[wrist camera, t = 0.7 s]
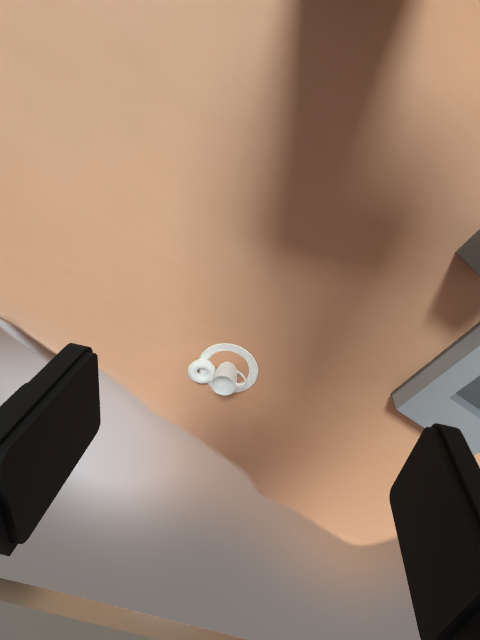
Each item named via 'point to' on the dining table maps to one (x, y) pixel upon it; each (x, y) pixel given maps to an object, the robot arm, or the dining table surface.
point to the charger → (471, 252)
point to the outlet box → (447, 390)
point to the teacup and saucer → (223, 370)
